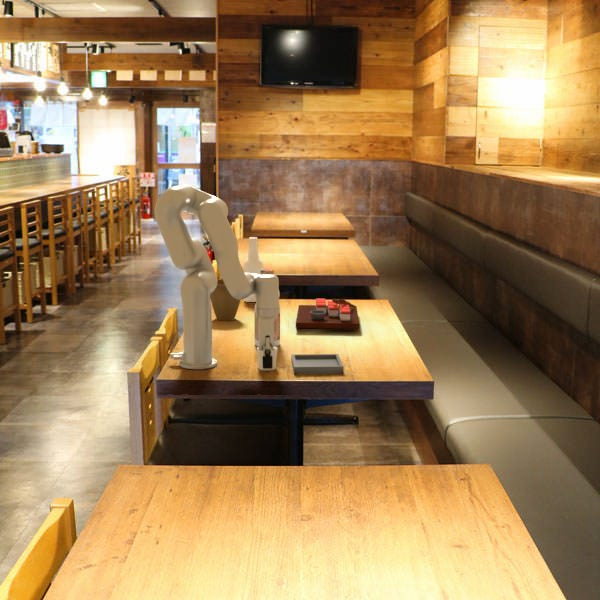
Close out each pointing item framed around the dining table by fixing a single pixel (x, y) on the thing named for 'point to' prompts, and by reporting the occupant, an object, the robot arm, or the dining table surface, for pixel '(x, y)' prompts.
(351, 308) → the sushi
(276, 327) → the fruit juice
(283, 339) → the dining table surface
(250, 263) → the alcohol
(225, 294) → the plant pot
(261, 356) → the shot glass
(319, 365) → the serving tray
